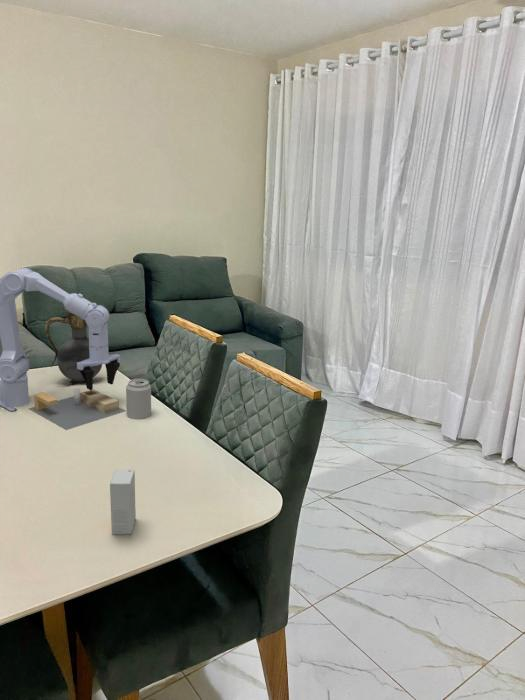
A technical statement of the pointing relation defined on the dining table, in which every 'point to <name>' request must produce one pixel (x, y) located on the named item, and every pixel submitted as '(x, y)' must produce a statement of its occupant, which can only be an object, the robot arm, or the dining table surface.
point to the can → (138, 399)
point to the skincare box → (122, 501)
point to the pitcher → (72, 348)
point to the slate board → (67, 410)
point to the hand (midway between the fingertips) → (100, 386)
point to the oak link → (99, 401)
